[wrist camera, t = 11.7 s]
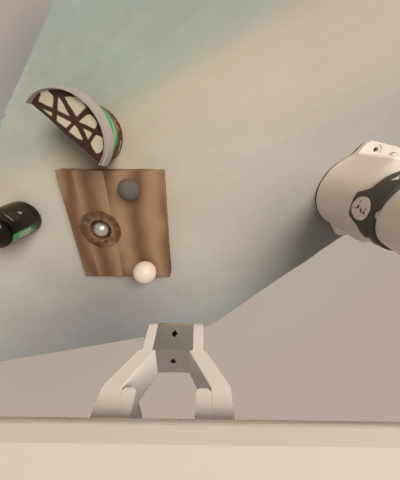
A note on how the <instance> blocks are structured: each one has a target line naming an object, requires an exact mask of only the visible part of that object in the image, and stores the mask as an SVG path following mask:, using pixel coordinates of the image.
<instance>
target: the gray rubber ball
mask: <svg viewBox="0 0 400 480" xmlns="http://www.w3.org/2000/svg"><path fill="white" fill-rule="evenodd" d="M117 191H118V194H119V196H120V197H121V198H122V199H124V200H126V201H133V200H135V199H137V198H138V197H139V195H140V186H139V184H138V183H137V182H136V181H135V180H133V179H123V180H122V181H120V183H119V184H118V187H117Z"/></svg>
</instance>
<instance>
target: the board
mask: <svg viewBox="0 0 400 480" xmlns="http://www.w3.org/2000/svg"><path fill="white" fill-rule="evenodd" d="M55 173H56V176H57V179H58V183H59V186H60V190H61V193H62V196H63V200H64V203H65V206H66V210H67V213H68V217H69V220H70V223H71V227H72V230H73V233H74V237H75V240H76V244H77V247H78V250H79V254H80V257H81V261H82V264H83V267H84V271H85V274H86V276H133V269H134V267H135V266H136V265H137V264H138V263H139V262H142V261H149V262H151V263H152V264H154V266H155V267H156V276H155V277H170V274H171V259H170V244H169V229H168V214H167V198H166V183H165V170H157V169H59V170H55ZM123 179H133V180H135V181H136V182H137V183H138V184H139V186H140V195H139V197H138V198H137V199H135V200H133V201H126V200H124V199H122V198H121V197H120V196H119V194H118V191H117V187H118V184H119V183H120V181H122V180H123ZM96 220H102V221H104V222H106V223H107V224H108V225H109V226H110V227H111V232H112V233H111V234H110V235H107V236H104V237H100V236H97V235H96V234H95V233H94V231H93V225H94V224H95V221H96Z"/></svg>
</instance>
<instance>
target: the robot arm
mask: <svg viewBox="0 0 400 480" xmlns="http://www.w3.org/2000/svg"><path fill="white" fill-rule="evenodd" d="M374 148H376V149H375V151H373V150H374ZM316 205H317V209H318V212H319V213H320V215H321V216H322V217H323V218H324V219H325V220H326V221H327V222H329V223H330V225H331V227H332V230H333V231H334V233H335V234H337V235H347V234H348V235H349V236H351V237H353V238H355V239H357V240H359V241H361V242H367V241H371V242H372V243H374V244H376V245H378V246H381V247H383V248H385V249H388V250H392V251H395V252H397V253H398V254H400V147H396V146H392V145H388V144H384V143H380V142H376V141H371V140H369V141H366V142H364V143H363V144H362V145H361V146H360V147H359V148H358V149H357V150H356V151H355V152H354V153H353V154H352V155H351V156H349V157H348V158H346V159H344V160H342V161H341V162H339V163H338V164H337V165H335V166H334V167H333V168H332V169H331V170H330V171H329V172H328V173H327V174H326V176H325V177H324V178H323V180H322V182H321V184H320V186H319V188H318V192H317V197H316ZM158 372H186V373H190V375H191V377H192V379H193V381H194V383H195V385H196V387H197V389H198V390H197V391H196V411H195V419H144V418H142V414H141V410H140V405H139V400H140V398H141V397H142V396H143V394H144V393H145V391H146V390H147V389H148V387H149V386H150V384H151V383H152V381H153V380H154V379H155V377H156V376H157V374H158ZM0 480H400V422H364V421H363V422H362V421H357V422H356V421H288V420H287V421H286V420H285V421H284V420H235V418H234V409H233V401H232V392H231V387H230V386H229V384H228V383H227V381H226V380H225V379H224V377H223V375H222V374H221V373H220V371H219V369H218V368H217V367H216V365H215V364H214V362H213V361H212V359H211V358H210V356H209V355H208V353H207V352H206V350H205V351H204V350H203V324H167V323H150V324H149V326H148V329H147V333H146V336H145V340H144V343H143V347H142V350H138V351H137V352H136V353H135V354H134V355H133V356H132V357H131V358H130V359H129V360H128V361H127V362H126V363H125V364H124V365H123V366H122V367H121V368H120V369H119V370H118V371H117V372H116V373H115V374H114V375H113V376H112V377H111V378H110V379H109V380H108V381H107V382H106V383H105V384H104V385H103V387H102V389H101V392H100V394H99V396H98V399H97V401H96V404H95V406H94V409H93V411H92V414H91V416H90V418H68V417H64V418H63V417H0Z"/></svg>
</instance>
